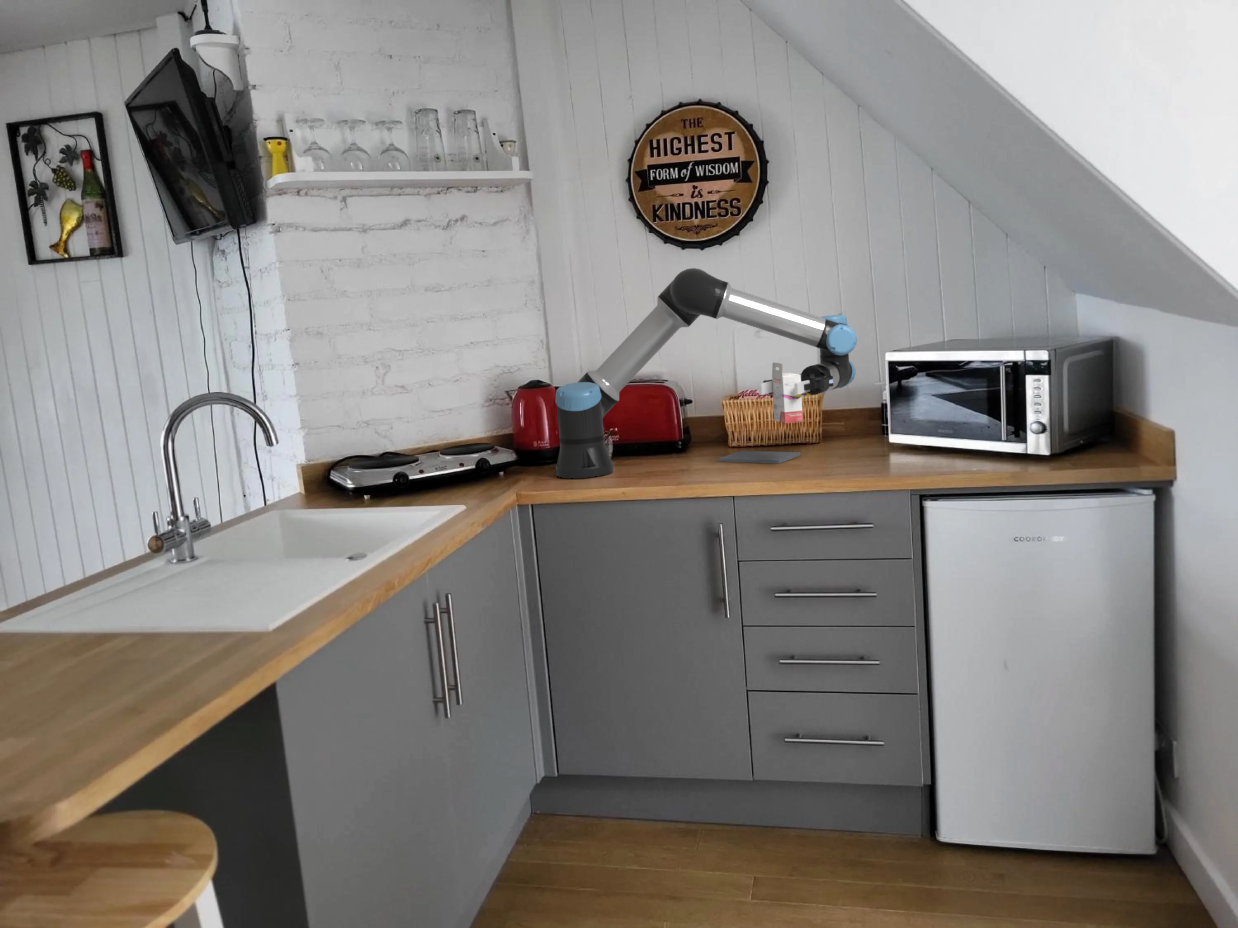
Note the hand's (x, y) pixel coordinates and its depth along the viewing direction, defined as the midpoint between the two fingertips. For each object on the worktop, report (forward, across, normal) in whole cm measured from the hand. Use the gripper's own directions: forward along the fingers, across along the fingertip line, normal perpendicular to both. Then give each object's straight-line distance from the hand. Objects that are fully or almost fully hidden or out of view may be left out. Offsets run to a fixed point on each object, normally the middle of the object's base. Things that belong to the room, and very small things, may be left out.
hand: (778, 389), depth 258 cm
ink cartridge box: (-5, 0, -9) cm, 10 cm away
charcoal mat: (-13, +14, -20) cm, 28 cm away
